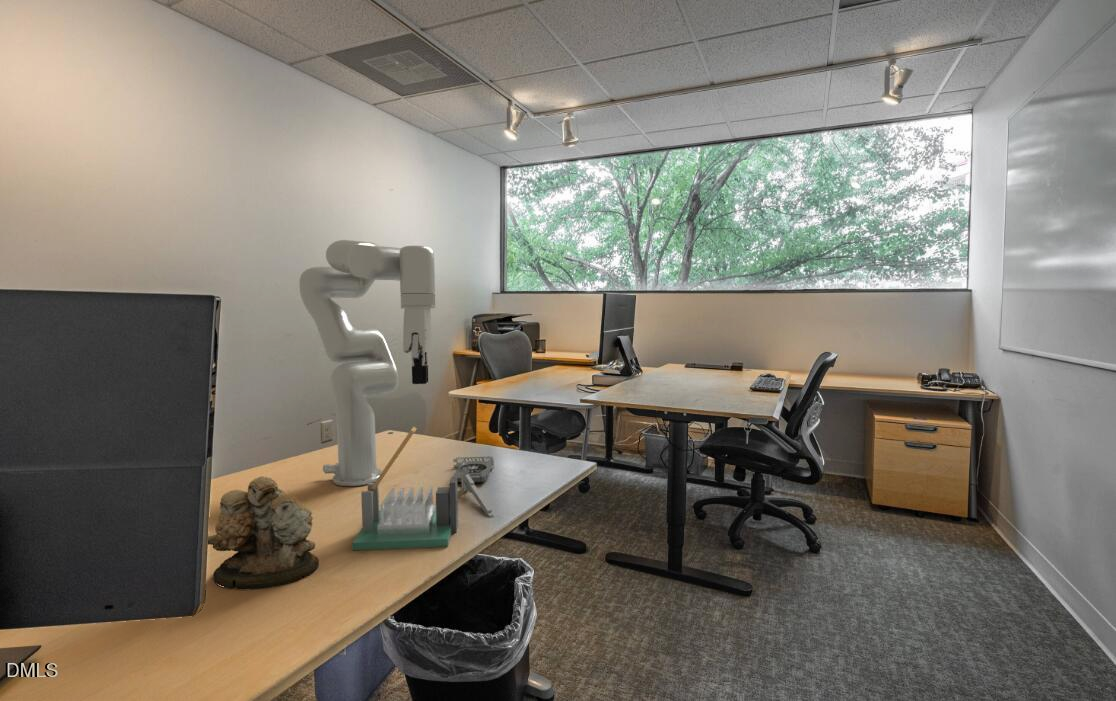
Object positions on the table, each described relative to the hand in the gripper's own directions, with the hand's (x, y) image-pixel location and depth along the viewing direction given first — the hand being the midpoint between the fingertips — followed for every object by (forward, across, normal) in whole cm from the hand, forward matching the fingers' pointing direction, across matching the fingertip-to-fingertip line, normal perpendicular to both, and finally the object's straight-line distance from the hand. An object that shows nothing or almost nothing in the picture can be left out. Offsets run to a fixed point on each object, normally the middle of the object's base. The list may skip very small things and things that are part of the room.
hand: (420, 382), depth 120 cm
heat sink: (+28, +13, -1) cm, 31 cm away
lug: (+29, +13, +6) cm, 33 cm away
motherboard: (+29, +13, -1) cm, 32 cm away
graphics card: (+30, -22, +9) cm, 38 cm away
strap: (+15, +13, -4) cm, 20 cm away
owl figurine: (+29, +28, -23) cm, 47 cm away
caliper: (+30, -2, +12) cm, 32 cm away
